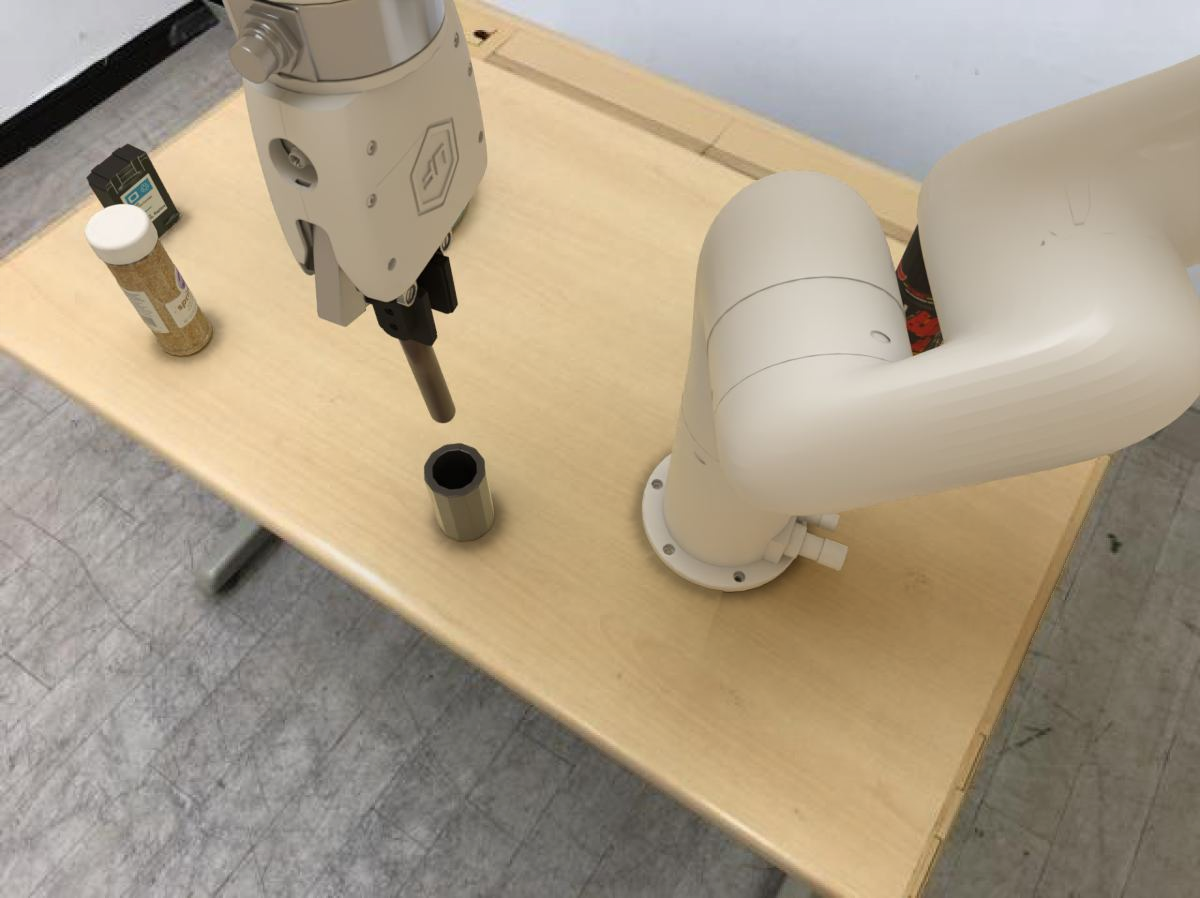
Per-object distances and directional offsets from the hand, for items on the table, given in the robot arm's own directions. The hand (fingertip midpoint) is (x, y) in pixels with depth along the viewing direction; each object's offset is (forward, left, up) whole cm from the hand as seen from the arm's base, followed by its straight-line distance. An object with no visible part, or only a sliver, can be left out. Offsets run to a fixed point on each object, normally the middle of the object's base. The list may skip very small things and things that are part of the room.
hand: (419, 316), depth 47 cm
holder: (0, 0, -24) cm, 24 cm away
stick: (0, 0, -10) cm, 10 cm away
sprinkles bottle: (+30, -6, -25) cm, 39 cm away
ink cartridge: (+40, -15, -25) cm, 49 cm away
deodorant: (-27, -30, -25) cm, 47 cm away
